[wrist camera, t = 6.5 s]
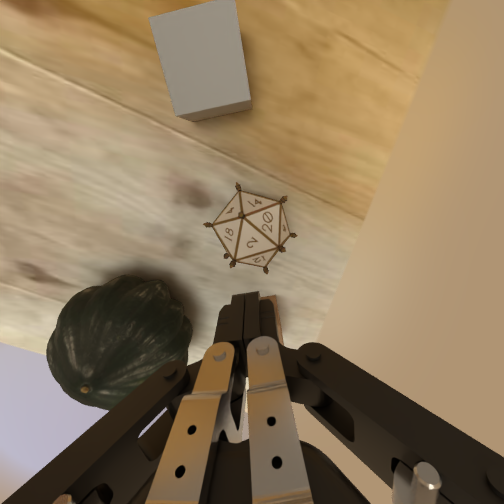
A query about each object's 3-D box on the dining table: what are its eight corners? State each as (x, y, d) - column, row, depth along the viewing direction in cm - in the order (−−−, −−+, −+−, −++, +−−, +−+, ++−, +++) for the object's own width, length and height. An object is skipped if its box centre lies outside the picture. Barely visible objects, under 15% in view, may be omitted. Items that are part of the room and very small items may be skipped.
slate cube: (193, 121, 25) (175, 116, 19) (174, 48, 22) (148, 17, 17) (252, 108, 24) (250, 99, 19) (239, 32, 22) (233, -5, 16)
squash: (113, 400, 34) (124, 483, 21) (26, 325, 29) (-27, 373, 17) (191, 324, 40) (235, 353, 28) (130, 253, 36) (148, 248, 23)
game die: (242, 199, 31) (215, 154, 22) (307, 218, 29) (308, 176, 20) (216, 264, 30) (175, 247, 21) (281, 289, 28) (269, 282, 19)
